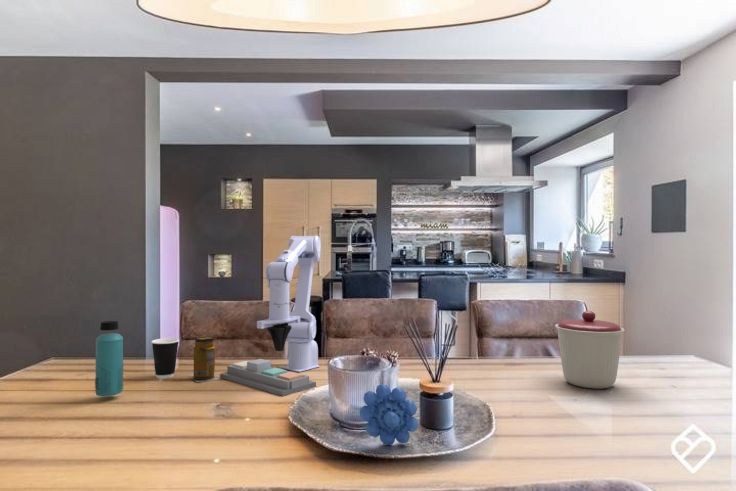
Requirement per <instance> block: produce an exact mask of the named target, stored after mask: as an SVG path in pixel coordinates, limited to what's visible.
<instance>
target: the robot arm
mask: <svg viewBox="0 0 736 491" xmlns="http://www.w3.org/2000/svg"><path fill="white" fill-rule="evenodd" d="M321 247H322V245H321V238H320V237H319V236H318V235H291V236H290V237H289V239H288V249H284V250H283V251H282V252H281V254H279V256H278V257H277V258H276V260H275V261H271V262H270V263H268V264H267V266H266V270H265V278H266V280H267V288H269V290H268V291H269V293H268V294H269V302H268V303H269V305H268V306H269V309H268V310H269V313H268V314H269V315H268V318H266V319H263V320H262V319H261V320H257V321H256V329H261V330H264V329H266V328H267V331H268V333H269V334H270V337H271V339H272V342H273V345H274V346H273V347H274V350H275V352H283V351H284V349H285V345H286V342H288V345H287V346H288V351H287V353H288V359H287V360H288V361H287V362H288V363H287V365H285V366H283V367H282V369H283V370H287V371H291V372H295V373H300V372H304V371H309V370H312V369H313V370H314V369H316V368H319V367H320V366H321V365H319V363H318V362H319V361H318V359H319V347H318V343H317V341H315V340H314V339H315V338H316V334H317V320H316V316H315V315H314V314H312V313H311V312H310V301H311V293H312V284H313V275H314V268H315V264H317V263H319V261H320V258H321V249H322V248H321ZM297 265H299V269H298V277H297V285H296V292H295V293H296V294H295V298H294V299H295V300H294V307H293V310H292V311H290V282H291V281H292V280H293V275H294V270H295V267H297Z"/></svg>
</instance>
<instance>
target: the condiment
mask: <svg viewBox="0 0 736 491" xmlns="http://www.w3.org/2000/svg"><path fill="white" fill-rule="evenodd" d="M214 339H215V338H214V337H212V336H199V337H196V338H195V341H194V342H195V343H194V348H193V375H189V376H187V377H188V378H189V379H190V380H193V381H194V382H196V383H204V382H210V381H218V380H221V379H222V378H220V376H217V375H215V372H216V371H215V370H216V369H215V367H216V366H215V365H216V357H215V355H216V347H215V346H214V344H215V343H214Z"/></svg>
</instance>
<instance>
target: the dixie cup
mask: <svg viewBox="0 0 736 491" xmlns="http://www.w3.org/2000/svg"><path fill="white" fill-rule="evenodd" d="M179 342H180V339H179V338H178V337H177V338H176V337H175V338H173V337H166V338H157V339H153V340H151V342H150V343H151V345H152V355H153V362H154V372H155V376H156V378H157V379H160V380H161V379H163V380H164V379H170V378H174V376H175V375H174V374H175V372H176V364H177V356H178V350H179V348H178V347H179Z"/></svg>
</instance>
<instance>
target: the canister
mask: <svg viewBox="0 0 736 491" xmlns="http://www.w3.org/2000/svg"><path fill="white" fill-rule="evenodd" d="M554 327H555V329H557V337H558V345H559V351H560V361H561V369H562V373H563V376H564V379H565V380H566V381H567V382H568V383H569V384H571V385H573V386H577V387H579V388H580V387H581V388H586V389H595V390H596V389H597V390H600V389H602V390H603V389H607V388H611V387H612V386H614V384H615V383H616V381H617V376H618V372H619V371H618V370H619V362H620V353H621V345H622V335H623V333H624V332H625V328H623V327H621V326H620V325H619V324H617V323H614V322H611V321H606V320H597V319H596V313H595V312H593V311H591V310H585V311H583V312H581V318H577V319H576V318H573V319H566V320H565V319H564V320H562V321H560V322H558V323H556V324H555V325H554Z"/></svg>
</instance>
